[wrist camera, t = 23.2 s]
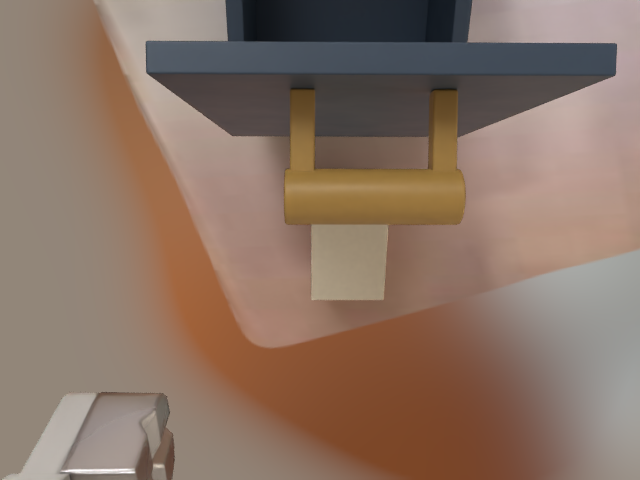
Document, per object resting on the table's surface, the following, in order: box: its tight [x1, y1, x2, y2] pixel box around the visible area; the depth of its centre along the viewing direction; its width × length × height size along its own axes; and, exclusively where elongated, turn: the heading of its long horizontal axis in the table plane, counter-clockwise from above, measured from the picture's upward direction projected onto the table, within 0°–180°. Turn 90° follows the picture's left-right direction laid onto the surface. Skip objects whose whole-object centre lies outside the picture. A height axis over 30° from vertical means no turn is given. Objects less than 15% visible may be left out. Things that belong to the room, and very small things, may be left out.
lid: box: [146, 41, 617, 225], centre depth 22 cm, size 15×12×5 cm
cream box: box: [311, 225, 388, 300], centre depth 39 cm, size 6×5×5 cm
